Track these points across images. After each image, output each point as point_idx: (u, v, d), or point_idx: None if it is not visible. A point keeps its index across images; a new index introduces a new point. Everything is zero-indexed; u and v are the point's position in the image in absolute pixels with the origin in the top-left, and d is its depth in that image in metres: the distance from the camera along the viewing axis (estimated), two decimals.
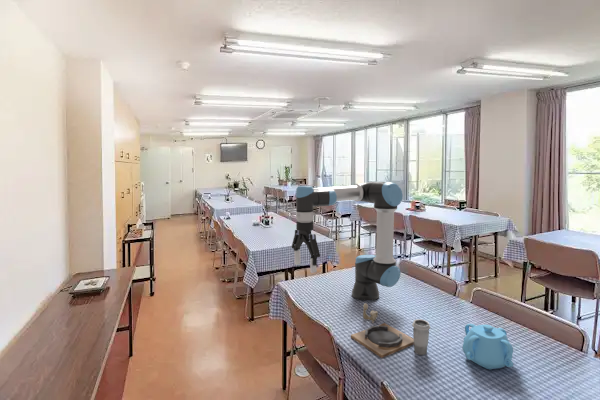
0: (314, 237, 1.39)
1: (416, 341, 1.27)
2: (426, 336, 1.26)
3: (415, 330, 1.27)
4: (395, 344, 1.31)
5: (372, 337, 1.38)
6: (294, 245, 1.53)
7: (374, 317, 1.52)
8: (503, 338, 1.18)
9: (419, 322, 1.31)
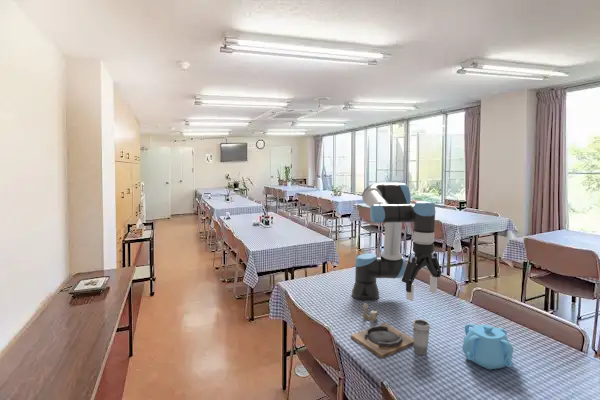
0: (411, 261, 1.22)
1: (416, 341, 1.27)
2: (426, 336, 1.26)
3: (415, 330, 1.27)
4: (395, 344, 1.31)
5: (372, 337, 1.38)
6: (437, 270, 1.31)
7: (374, 317, 1.52)
8: (503, 338, 1.18)
9: (419, 322, 1.31)
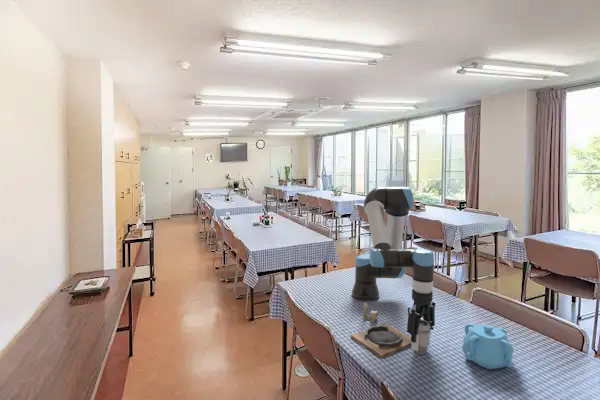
0: (411, 313, 1.24)
1: None
2: (426, 336, 1.26)
3: None
4: (395, 344, 1.31)
5: (372, 337, 1.38)
6: (430, 322, 1.32)
7: (374, 317, 1.52)
8: (503, 338, 1.18)
9: None
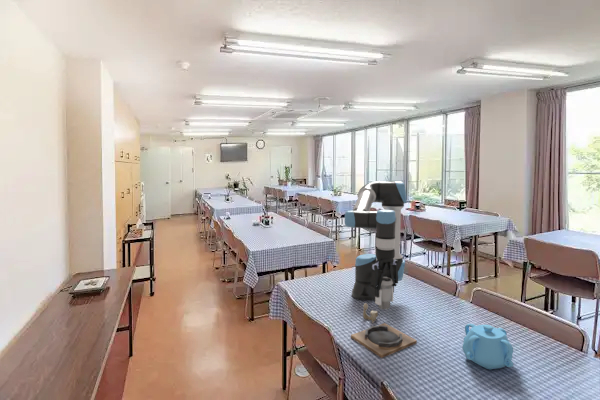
0: (373, 268, 1.31)
1: None
2: (389, 291, 1.33)
3: None
4: (395, 344, 1.31)
5: (372, 337, 1.38)
6: (394, 280, 1.39)
7: (374, 317, 1.52)
8: (503, 338, 1.18)
9: (383, 279, 1.39)
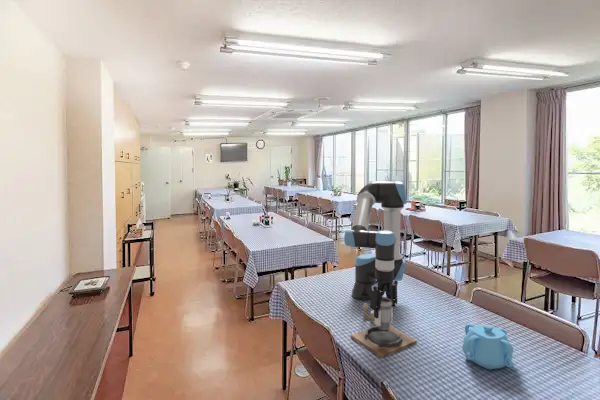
0: (373, 290, 1.32)
1: None
2: (388, 312, 1.34)
3: None
4: (395, 344, 1.31)
5: (372, 337, 1.38)
6: (393, 300, 1.40)
7: (374, 317, 1.52)
8: (503, 338, 1.18)
9: (383, 300, 1.40)
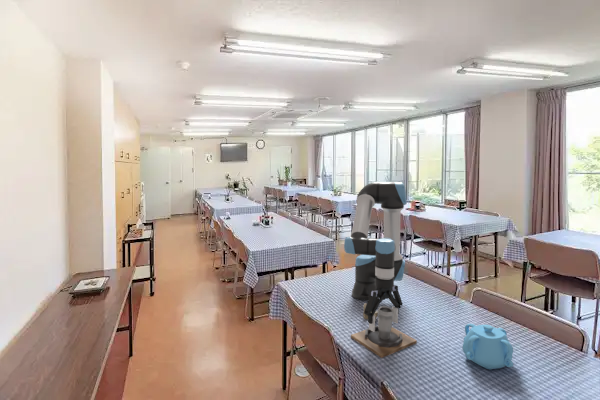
0: (372, 295, 1.32)
1: (380, 326, 1.36)
2: (389, 322, 1.35)
3: (379, 316, 1.36)
4: (395, 344, 1.31)
5: (372, 337, 1.38)
6: None
7: None
8: (503, 338, 1.18)
9: (384, 309, 1.40)
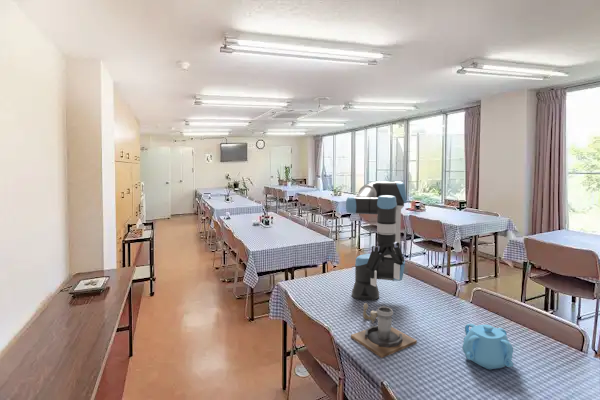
0: (374, 250, 1.33)
1: (380, 326, 1.36)
2: (389, 322, 1.35)
3: (379, 316, 1.36)
4: (395, 344, 1.31)
5: (372, 337, 1.38)
6: (401, 258, 1.43)
7: (374, 317, 1.52)
8: (503, 338, 1.18)
9: (384, 309, 1.40)
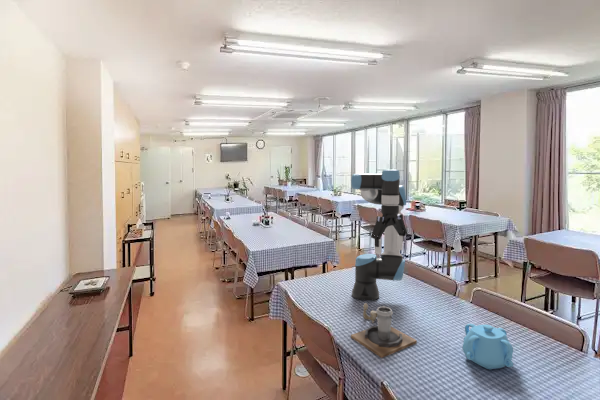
0: (378, 220, 1.42)
1: (379, 326, 1.36)
2: (388, 322, 1.35)
3: (378, 316, 1.36)
4: (395, 344, 1.31)
5: (372, 337, 1.38)
6: None
7: (374, 317, 1.52)
8: (503, 338, 1.18)
9: (383, 309, 1.40)
